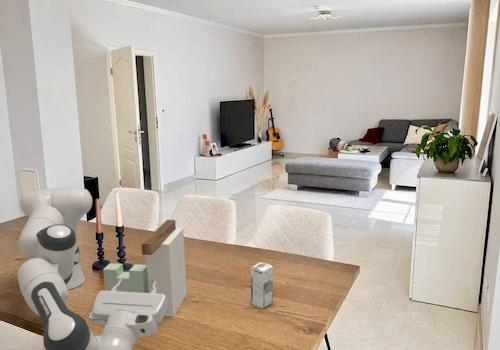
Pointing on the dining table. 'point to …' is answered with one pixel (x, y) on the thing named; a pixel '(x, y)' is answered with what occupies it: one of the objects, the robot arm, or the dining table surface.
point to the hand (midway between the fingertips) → (138, 280)
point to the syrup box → (262, 285)
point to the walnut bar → (158, 237)
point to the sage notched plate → (126, 278)
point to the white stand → (169, 270)
